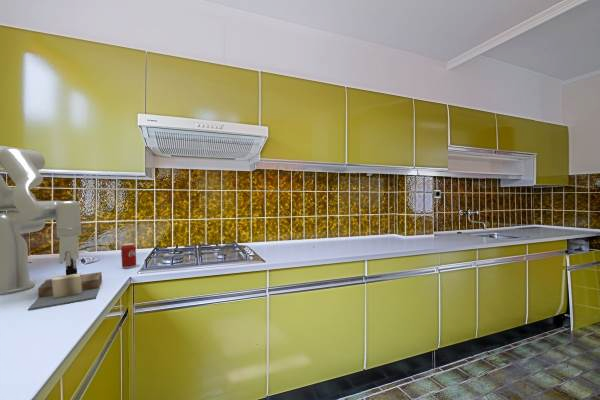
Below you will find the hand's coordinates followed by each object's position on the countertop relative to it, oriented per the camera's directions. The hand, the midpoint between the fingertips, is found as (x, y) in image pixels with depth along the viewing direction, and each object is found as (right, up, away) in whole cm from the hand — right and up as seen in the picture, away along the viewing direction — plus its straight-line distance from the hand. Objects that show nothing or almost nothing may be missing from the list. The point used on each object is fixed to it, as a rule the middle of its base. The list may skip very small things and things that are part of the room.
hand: (71, 278), depth 110 cm
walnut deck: (-1, -5, +2) cm, 5 cm away
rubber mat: (+5, -5, -9) cm, 11 cm away
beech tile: (+3, 0, -5) cm, 6 cm away
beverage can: (+2, -4, +34) cm, 34 cm away
